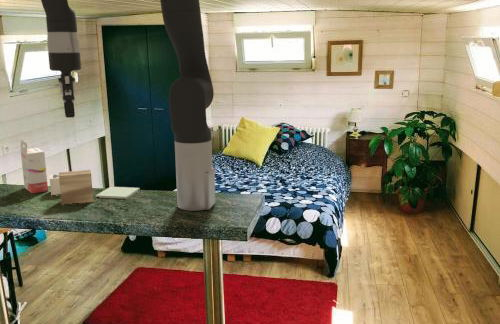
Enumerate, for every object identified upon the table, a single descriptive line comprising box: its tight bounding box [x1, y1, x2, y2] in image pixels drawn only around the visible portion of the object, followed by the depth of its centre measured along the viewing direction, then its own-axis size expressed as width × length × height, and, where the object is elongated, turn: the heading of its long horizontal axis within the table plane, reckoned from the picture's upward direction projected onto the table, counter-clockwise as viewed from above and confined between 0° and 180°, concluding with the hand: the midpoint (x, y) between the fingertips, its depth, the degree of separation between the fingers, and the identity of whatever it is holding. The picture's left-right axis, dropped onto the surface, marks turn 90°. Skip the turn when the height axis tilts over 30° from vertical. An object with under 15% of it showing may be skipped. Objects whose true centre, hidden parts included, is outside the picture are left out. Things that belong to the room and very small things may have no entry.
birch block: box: [58, 169, 94, 206], centre depth 131 cm, size 4×8×8 cm, turn 111°
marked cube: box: [49, 173, 61, 197], centre depth 139 cm, size 5×5×5 cm
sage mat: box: [95, 186, 141, 200], centre depth 138 cm, size 9×9×1 cm
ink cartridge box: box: [20, 139, 49, 194], centre depth 142 cm, size 9×5×15 cm, turn 37°
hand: (69, 115), depth 126 cm, fingers open, 8 cm apart
